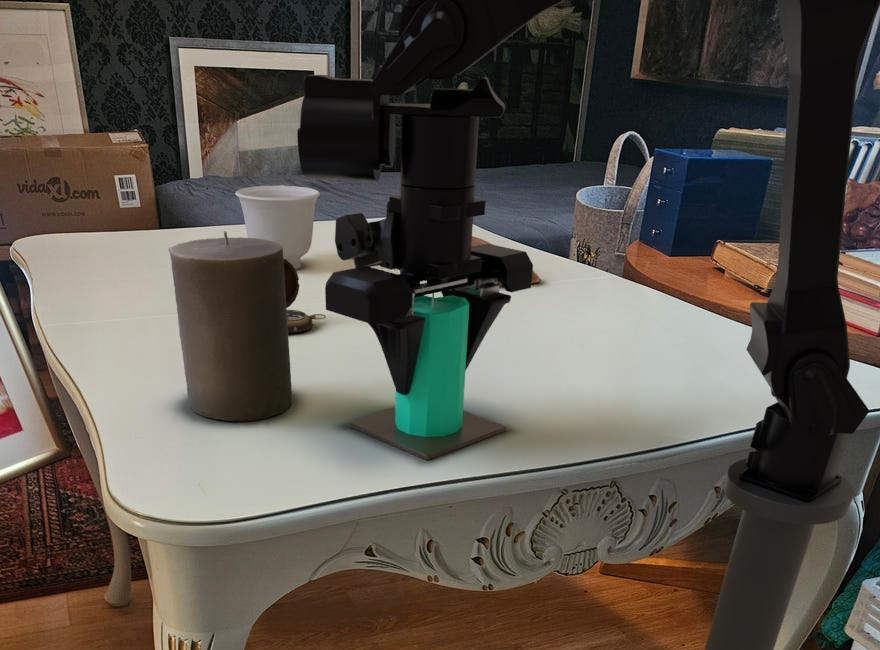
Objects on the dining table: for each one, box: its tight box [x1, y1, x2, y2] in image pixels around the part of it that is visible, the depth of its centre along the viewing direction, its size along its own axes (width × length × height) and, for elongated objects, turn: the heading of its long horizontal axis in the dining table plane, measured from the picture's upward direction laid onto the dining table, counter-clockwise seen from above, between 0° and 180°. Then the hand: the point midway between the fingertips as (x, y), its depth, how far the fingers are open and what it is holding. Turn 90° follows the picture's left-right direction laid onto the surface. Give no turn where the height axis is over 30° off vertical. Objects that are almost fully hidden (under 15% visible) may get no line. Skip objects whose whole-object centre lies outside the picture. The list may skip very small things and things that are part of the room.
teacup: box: [234, 184, 321, 270], centre depth 127 cm, size 12×15×10 cm
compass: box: [283, 258, 327, 334], centre depth 101 cm, size 8×8×7 cm
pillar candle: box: [167, 230, 293, 422], centre depth 77 cm, size 10×10×15 cm
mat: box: [348, 407, 507, 461], centre depth 77 cm, size 10×10×1 cm
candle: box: [394, 293, 469, 437], centre depth 74 cm, size 6×6×12 cm
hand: (430, 385), depth 75 cm, fingers closed on candle, 6 cm apart
